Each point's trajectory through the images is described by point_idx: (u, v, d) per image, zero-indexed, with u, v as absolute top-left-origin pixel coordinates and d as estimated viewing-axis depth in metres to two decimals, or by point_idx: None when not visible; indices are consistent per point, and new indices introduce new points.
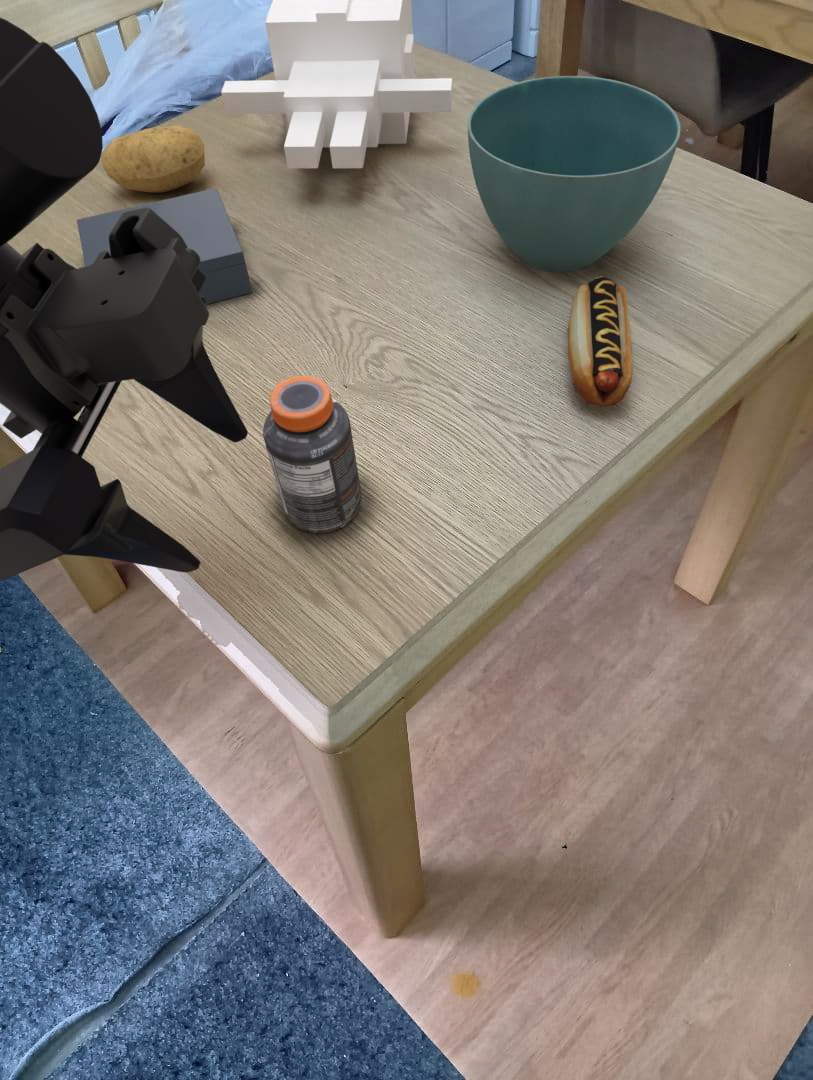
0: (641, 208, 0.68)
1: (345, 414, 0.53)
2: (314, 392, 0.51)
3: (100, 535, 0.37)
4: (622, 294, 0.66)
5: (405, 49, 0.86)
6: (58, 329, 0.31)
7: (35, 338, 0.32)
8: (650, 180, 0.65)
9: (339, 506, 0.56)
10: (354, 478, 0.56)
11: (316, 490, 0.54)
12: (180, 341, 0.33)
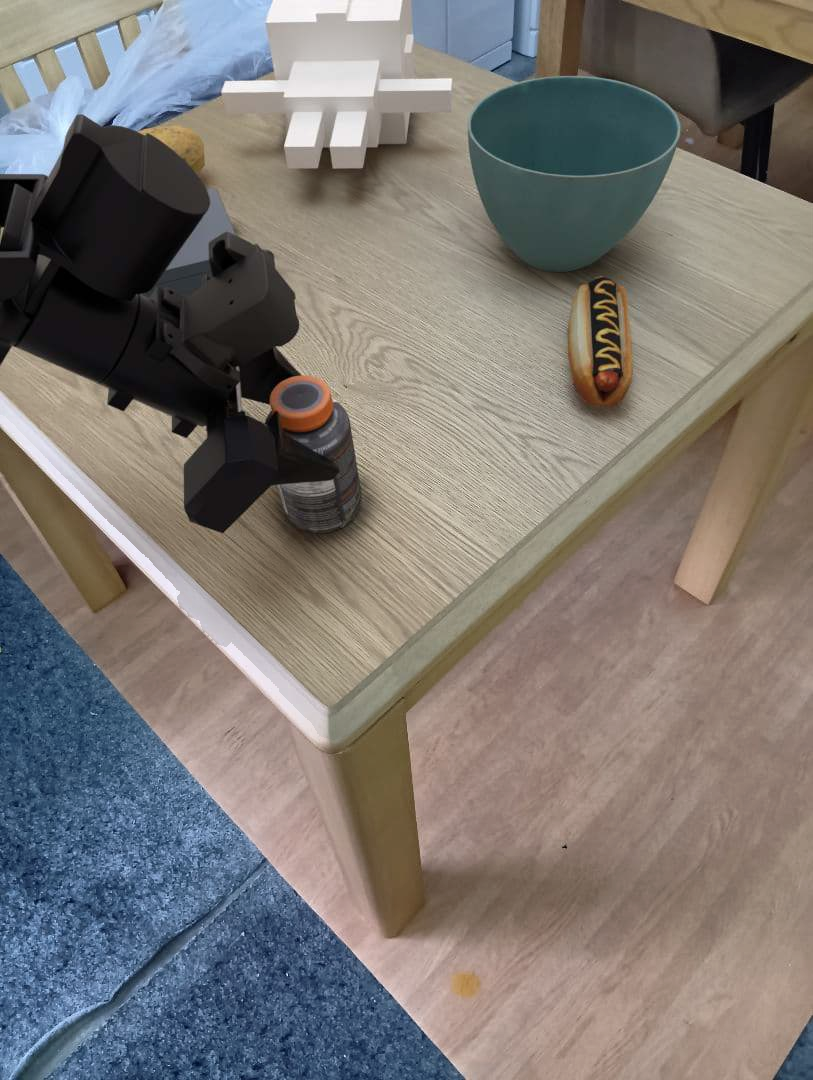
0: (641, 208, 0.68)
1: (345, 414, 0.53)
2: (314, 392, 0.51)
3: None
4: (622, 294, 0.66)
5: (405, 49, 0.86)
6: (208, 332, 0.43)
7: (190, 347, 0.44)
8: (650, 180, 0.65)
9: (339, 506, 0.56)
10: (354, 477, 0.56)
11: (316, 490, 0.54)
12: (290, 311, 0.44)
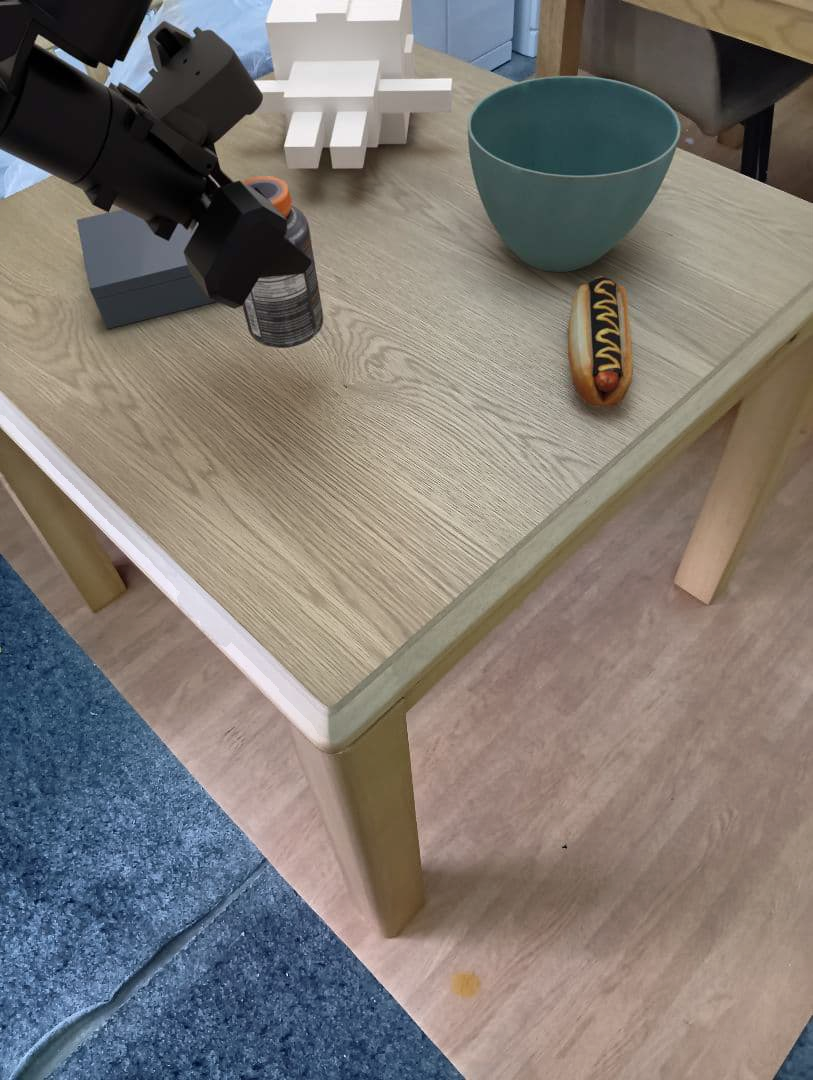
0: (641, 208, 0.68)
1: None
2: (271, 185, 0.53)
3: None
4: (622, 294, 0.66)
5: (405, 49, 0.86)
6: (185, 101, 0.44)
7: (168, 124, 0.45)
8: (650, 180, 0.65)
9: (310, 309, 0.59)
10: (317, 280, 0.59)
11: (290, 291, 0.56)
12: None
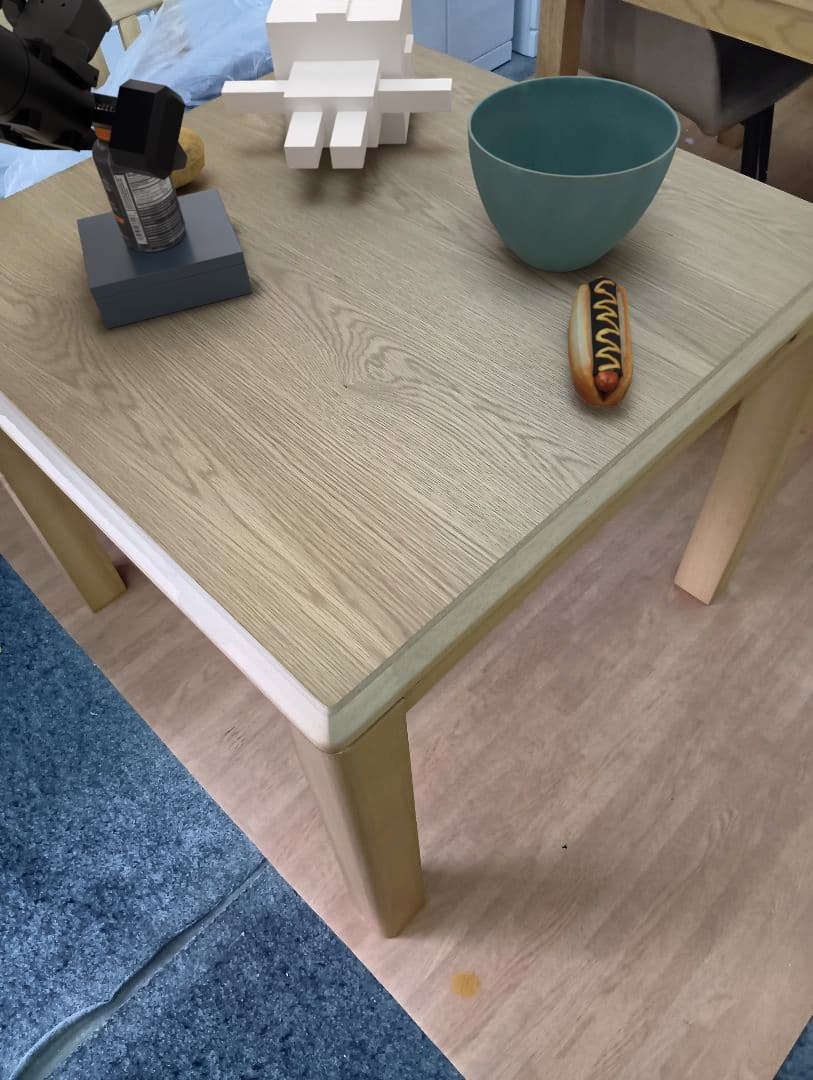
0: (641, 208, 0.68)
1: None
2: None
3: None
4: (622, 294, 0.66)
5: (405, 49, 0.86)
6: (68, 26, 0.56)
7: None
8: (650, 180, 0.65)
9: (178, 207, 0.72)
10: None
11: (164, 191, 0.70)
12: None
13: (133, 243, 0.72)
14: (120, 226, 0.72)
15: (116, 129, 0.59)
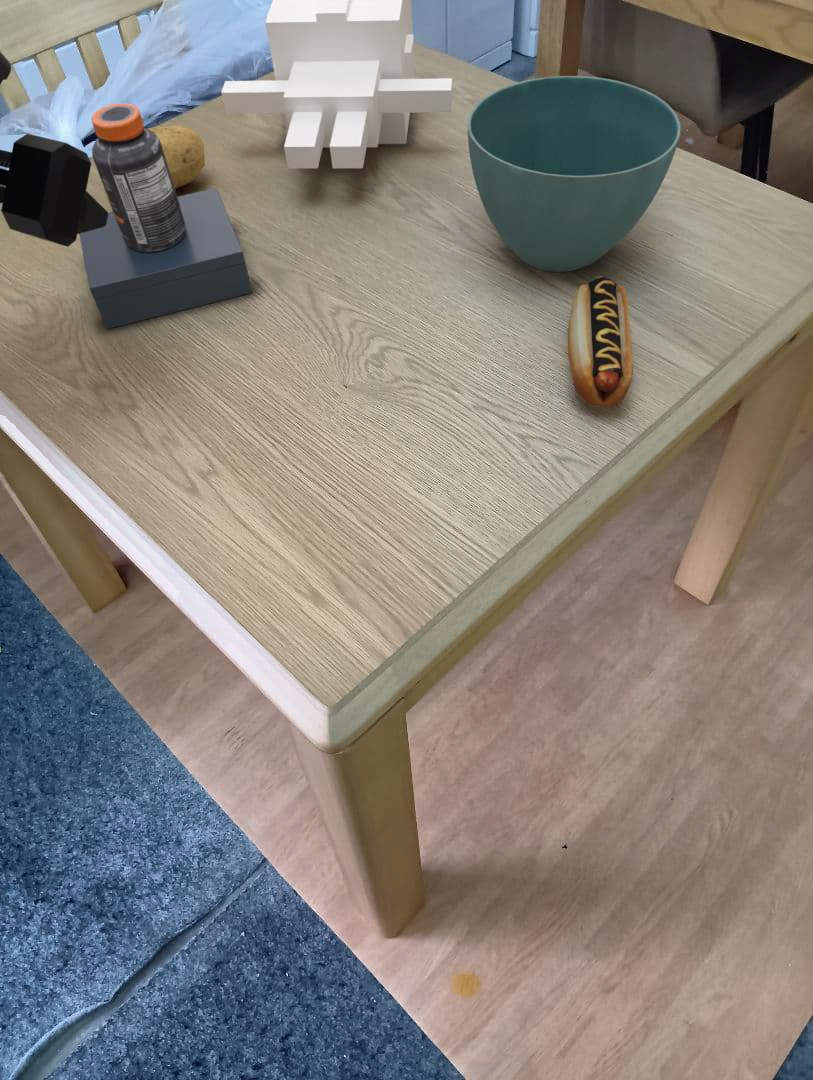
0: (641, 208, 0.68)
1: None
2: (122, 107, 0.66)
3: None
4: (622, 294, 0.66)
5: (405, 49, 0.86)
6: None
7: None
8: (650, 180, 0.65)
9: (178, 207, 0.72)
10: None
11: (164, 191, 0.70)
12: None
13: (133, 243, 0.72)
14: (120, 226, 0.72)
15: (10, 191, 0.51)
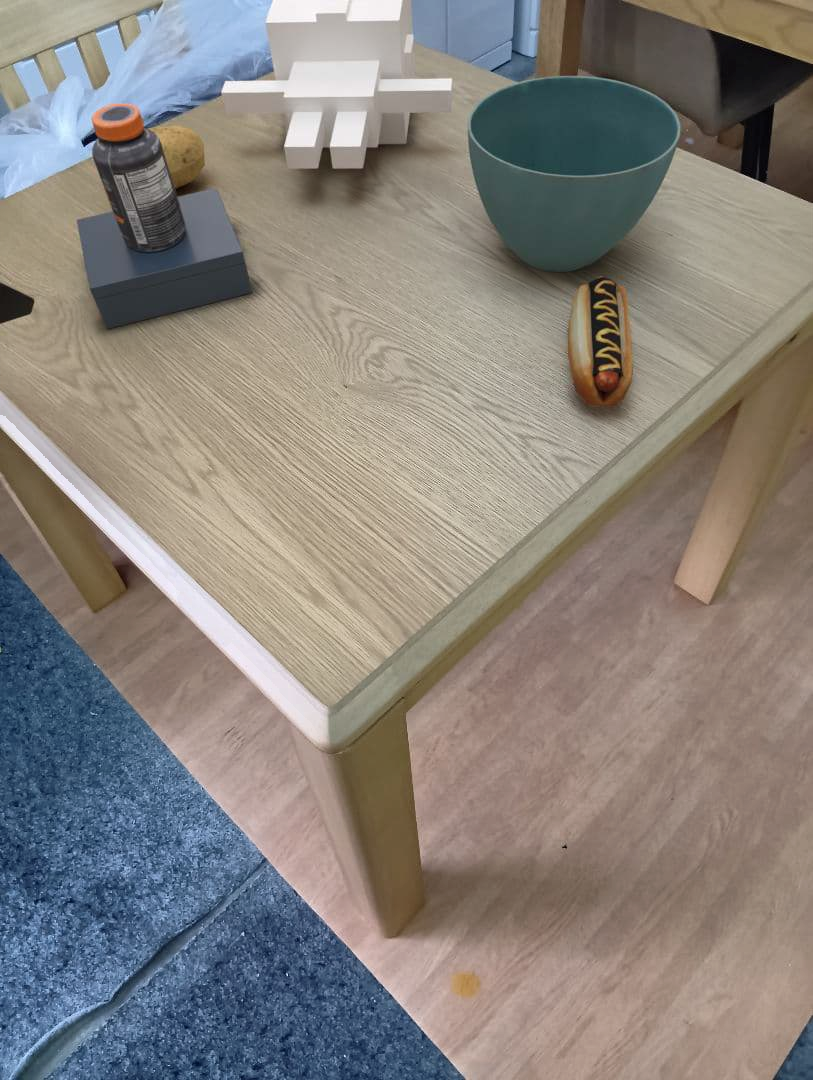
0: (641, 208, 0.68)
1: None
2: (122, 107, 0.66)
3: None
4: (622, 294, 0.66)
5: (405, 49, 0.86)
6: None
7: None
8: (650, 180, 0.65)
9: (178, 207, 0.72)
10: None
11: (164, 191, 0.70)
12: None
13: (133, 243, 0.72)
14: (120, 226, 0.72)
15: None
